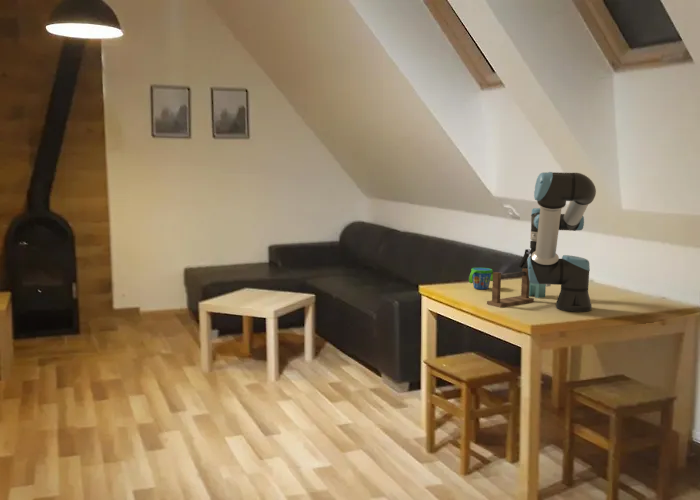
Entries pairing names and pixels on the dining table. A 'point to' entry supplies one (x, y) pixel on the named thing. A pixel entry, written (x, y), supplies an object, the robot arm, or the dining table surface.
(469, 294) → the dining table surface
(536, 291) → the link
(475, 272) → the snack cup
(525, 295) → the stand
